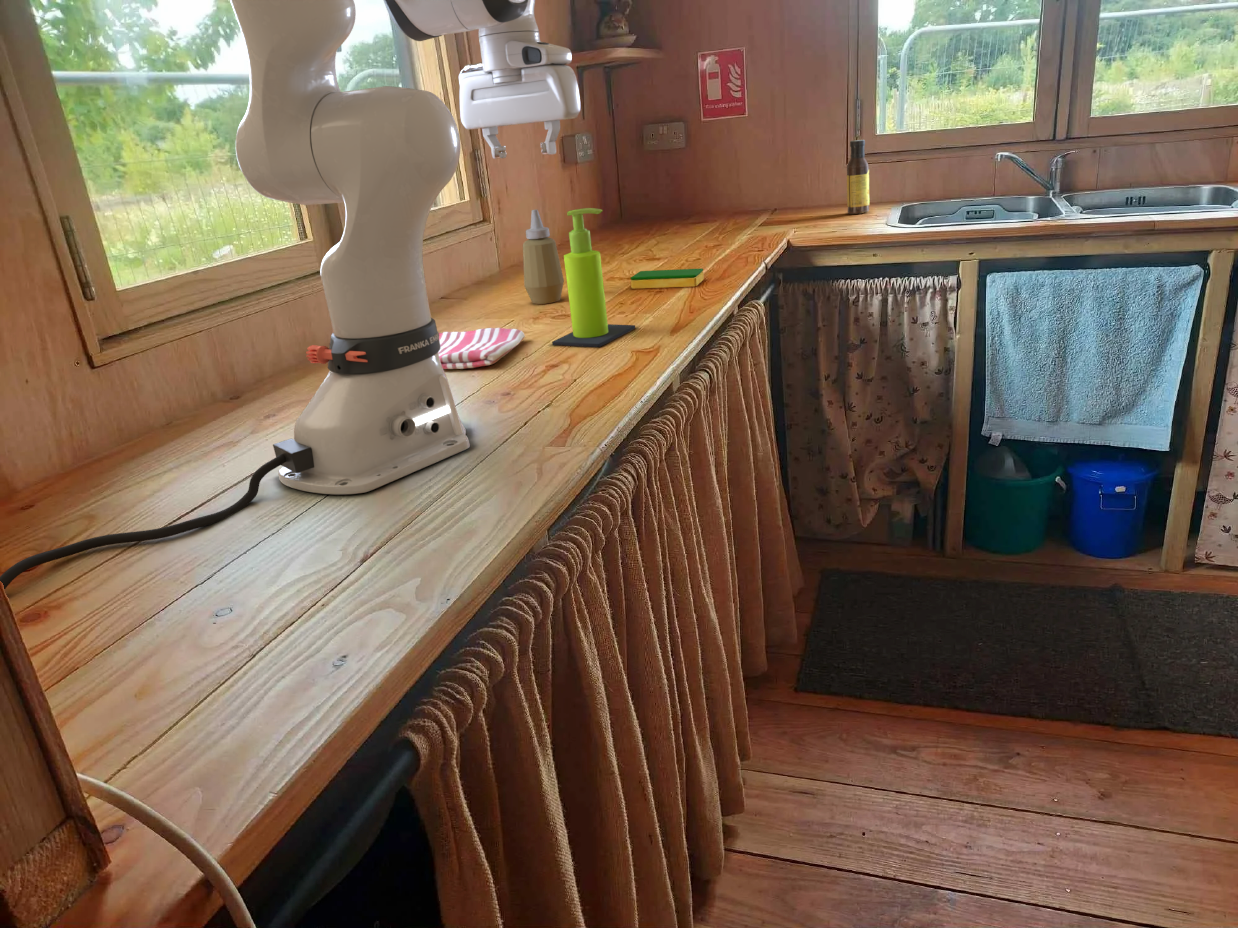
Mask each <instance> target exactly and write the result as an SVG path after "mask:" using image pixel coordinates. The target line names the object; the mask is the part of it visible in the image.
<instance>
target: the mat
mask: <svg viewBox="0 0 1238 928" xmlns="http://www.w3.org/2000/svg"><path fill="white" fill-rule="evenodd" d="M635 329H636V325H635V324H614V323H613V324H612V323H611V324H609V323H608V333H607V334H605V335H602V336H598V337H592V338H577V337H574V336H573V331H572V332H569V333H567V334H566V335H563V336H561V337H560V338H556V339H555V340H553V341H551V343H552V346H563V347H564V346H566V347H584V348H601V347H604V346H605V345H607V344H608V343H611V342H612V341H615V339H616V340H617V339H618V338H620V337H622V336H624V335H626V334H628V333H630V332H631V331H633V330H635Z"/></svg>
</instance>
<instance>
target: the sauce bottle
mask: <svg viewBox="0 0 1238 928" xmlns="http://www.w3.org/2000/svg"><path fill="white" fill-rule="evenodd" d="M865 146H866V140H865V139H858V140H850V143H849V147H850V159H849V161H848V163H847V164H846V165H847V166H846V206H847V214H848V215H858V214H859V215H860V214H865V213H868V212H869V211H870V203H871V202H870V199H871V198H870V166H869V165H870V164H869V163H868V160H867V159H866V158H865V156H866V154H865V151H866V150H865Z"/></svg>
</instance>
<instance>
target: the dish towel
mask: <svg viewBox="0 0 1238 928" xmlns="http://www.w3.org/2000/svg"><path fill="white" fill-rule="evenodd" d="M524 338H525V333H524V331H523V330H520V329H517V328H505V327H486V328H477V329H475V330H465V331H443V332H439V341H440V346H441V349H440V350H439V352H438V354H439V358H440V361H441V365H442V368H443V370H455V369H460V370H463V369H474V368H479V367H485V366H490V365H493V364H496V363H497V362H498V361H499V360H500V359H502V358H503V357H505V356H506V355H507V354H508V353H510V352H511V351H512V350H513V349H515V348H516V347H518V346H519V344H520V343H521V341H524Z"/></svg>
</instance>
